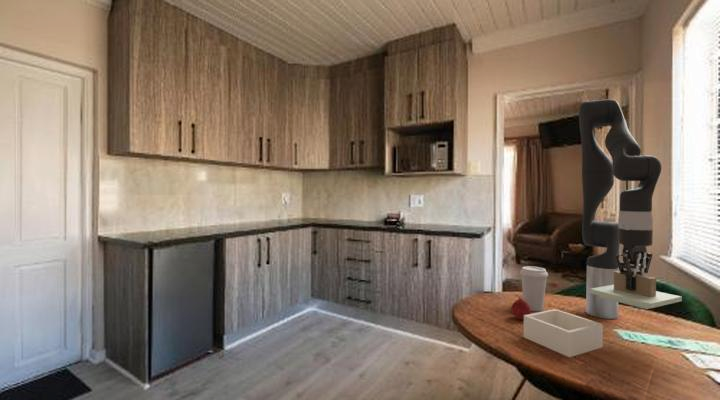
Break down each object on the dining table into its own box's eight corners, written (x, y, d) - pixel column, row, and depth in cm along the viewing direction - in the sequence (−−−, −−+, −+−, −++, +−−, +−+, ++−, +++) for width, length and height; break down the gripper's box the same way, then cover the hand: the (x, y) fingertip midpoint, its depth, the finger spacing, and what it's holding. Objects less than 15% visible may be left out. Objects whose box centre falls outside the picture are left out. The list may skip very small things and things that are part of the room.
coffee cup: (553, 312, 126) (553, 271, 125) (526, 312, 126) (526, 271, 126) (539, 304, 135) (540, 265, 135) (515, 304, 135) (515, 265, 135)
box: (555, 331, 109) (555, 308, 109) (602, 349, 96) (602, 324, 96) (523, 339, 103) (523, 315, 103) (569, 359, 90) (569, 332, 90)
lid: (620, 290, 107) (620, 267, 107) (681, 304, 93) (682, 278, 93) (589, 296, 101) (589, 271, 101) (650, 312, 87) (651, 283, 87)
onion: (532, 324, 114) (532, 300, 114) (513, 323, 116) (513, 299, 115) (527, 318, 120) (527, 295, 120) (509, 316, 121) (510, 294, 121)
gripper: (634, 225, 103) (632, 283, 103) (605, 227, 97) (604, 289, 97) (664, 227, 96) (663, 290, 97) (636, 229, 90) (634, 296, 91)
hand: (633, 289), depth 97 cm, fingers closed on lid, 2 cm apart
